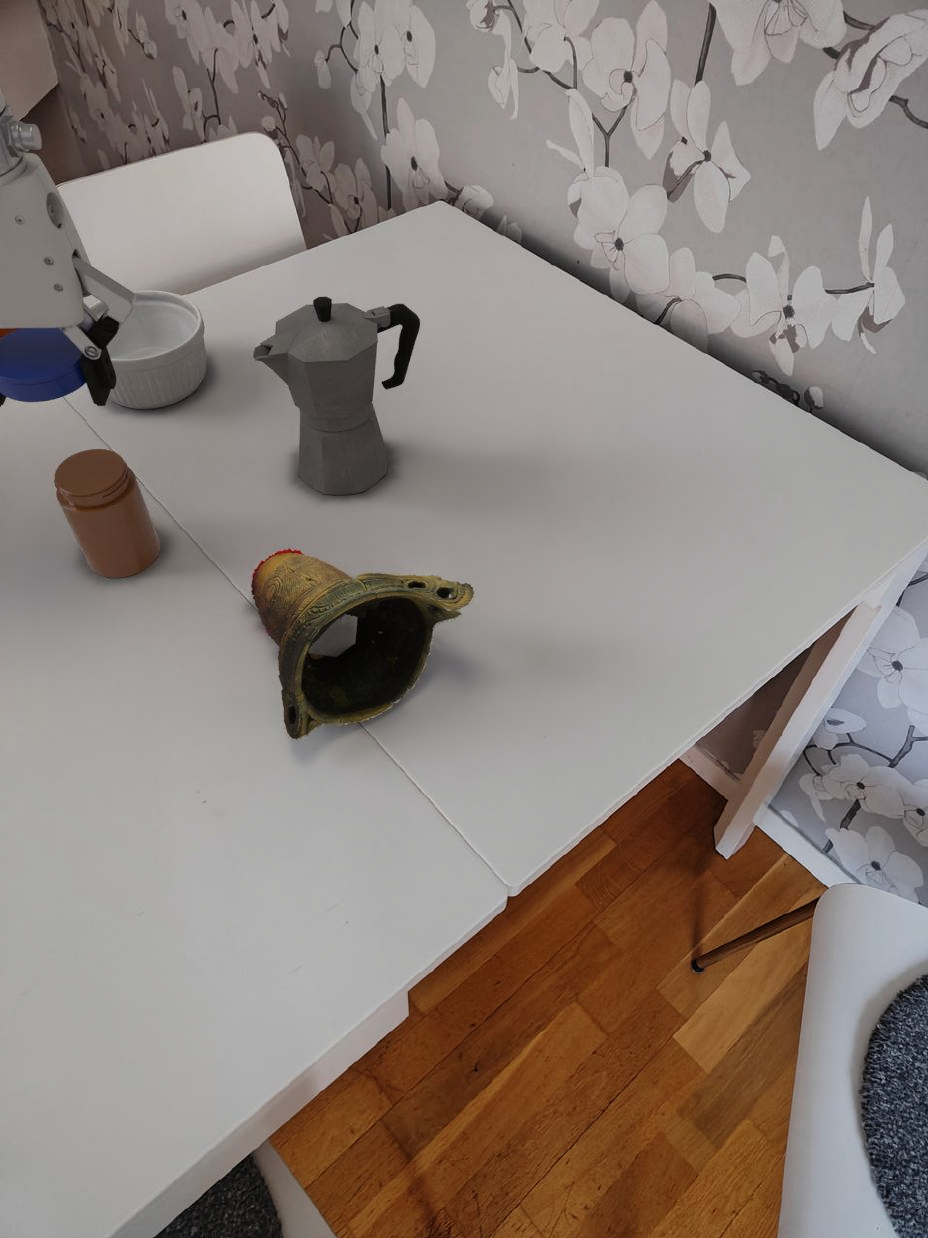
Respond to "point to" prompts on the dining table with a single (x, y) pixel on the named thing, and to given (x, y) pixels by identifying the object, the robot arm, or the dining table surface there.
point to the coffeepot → (338, 387)
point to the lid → (39, 365)
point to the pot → (385, 635)
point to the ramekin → (157, 350)
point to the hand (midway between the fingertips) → (53, 393)
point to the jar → (106, 513)
